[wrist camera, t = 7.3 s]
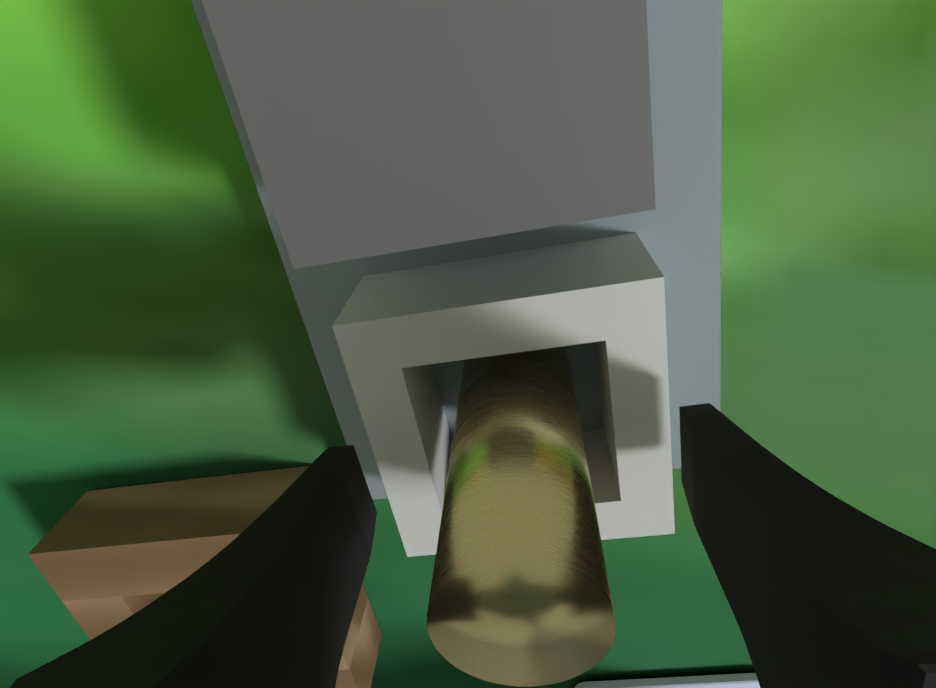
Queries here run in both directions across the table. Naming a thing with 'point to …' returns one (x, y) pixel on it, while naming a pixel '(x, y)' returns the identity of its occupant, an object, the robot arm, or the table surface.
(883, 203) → the table surface
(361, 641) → the pin mount
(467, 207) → the tool dock
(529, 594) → the lock pin
